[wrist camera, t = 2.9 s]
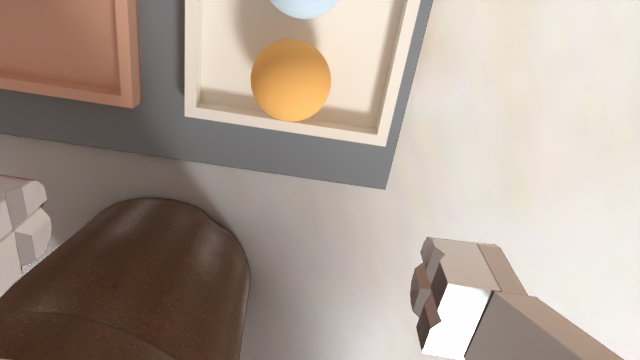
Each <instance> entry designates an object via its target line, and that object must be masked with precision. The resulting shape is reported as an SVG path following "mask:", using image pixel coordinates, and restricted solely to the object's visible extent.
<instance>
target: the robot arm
mask: <svg viewBox="0 0 640 360" xmlns="http://www.w3.org/2000/svg"><path fill="white" fill-rule="evenodd" d="M46 201H47V196H46V192H45V187H44V185H43V184H41V183H40V182H39V181H37V180H31V179H25V178H19V177H12V176H6V175H0V297H1V296H2V295H3V294H4V293H5V292H6V291H7V290H8V289H9V288H10V287H11V286H12V285H13V284H14V283H15V282H16V281H17V280H18V279H19V278H20V277H21V276H22V266H25V265H27V264H29V263H32V262H34V261H37V259H38V258H39V257H40V256H41V255H42V254H43V253H44V252H45V250H46V248H47V246H48V244H49V241H50V239H51V231H52V225H51V219H50V217H49V216H48V215H47V213H46V212H45V211H44V210H43V209H42V208H41V207H42V206H43V205H44V203H45V202H46ZM420 253H421V256H422V260H423V263H422V264H420V265H419V266H418V267H416V268H415V271H414V274H413V278H412V282H411V291H410V297H411V305H412V310H413V312H414V313H415V314H416V315H417V316H418V317H419V321H418V324H417V327H416V328H417V333H418V337H419V341H420V346H421V350H422V353H425V354H431V355H438V356H444V357H450V358H457V359H463V360H624V359H622V358H621V357H619V356H618V355H617V354H615V353H614V352H612V351H611V350H610V349H608V348H607V347H605V346H604V345H603V344H601V343H600V342H598V341H597V340H596V339H594V338H593V337H591V336H590V335H589V334H587V333H586V332H584V331H583V330H582V329H580V328H579V327H577V326H576V325H575V324H573V323H572V322H570V321H569V320H568V319H566V318H565V317H563V316H562V315H561V314H559V313H558V312H556V311H555V310H553V309H552V308H551V307H549V306H548V305H546V304H545V303H544V302H542V301H541V300H539V299H538V298H537V297H533V296H528V294H527V293H526V291H525V289H524V287H523V286H522V284H521V282H520V281H519V279H518V277H517V275H516V274H515V272H514V270H513V269H512V267H511V265H510V263H509V262H508V260H507V258H506V257H505V255H504V253H503V251H502V250H501V248H500V247H499V246H497V245H495V244H486V243H477V242H466V241H457V240H449V239H441V238H432V237H427V238H426V240H425V241H424V243H423V246H422V249H421V252H420ZM0 360H9V359H0Z"/></svg>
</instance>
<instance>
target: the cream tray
mask: <svg viewBox="0 0 640 360" xmlns="http://www.w3.org/2000/svg"><path fill="white" fill-rule="evenodd" d="M420 1H421V0H339V2H338V3H337V4H336V5H335V6H334V7H333V8H332V9H331V10H330V11H328V12H327V13H325V14H323V15H321V16H318V17H315V18H310V19H300V18H295V17H291V16H289V15H287V14H285V13H283V12H281V11H280V10H279V9H277V8H276V7H275V6H274V5H273V4H272V3H271V1H270V0H185V117H192V118H199V119H205V120H212V121H219V122H225V123H232V124H238V125H245V126H252V127H258V128H265V129H272V130H278V131H285V132H291V133H298V134H305V135H311V136H318V137H324V138H331V139H338V140H344V141H351V142H358V143H364V144H371V145H377V146H384V147H386V142H387V138H388V134H389V130H390V126H391V122H392V118H393V113H394V109H395V105H396V101H397V97H398V93H399V88H400V84H401V80H402V76H403V72H404V68H405V63H406V59H407V55H408V51H409V47H410V43H411V38H412V34H413V30H414V26H415V22H416V18H417V14H418V9H419V5H420ZM284 39H296V40H301V41H304V42H306V43H308V44H310V45H312V46H313V47H315V48H316V49H317V50H318V51H319V52H320V53H321V54H322V55H323V57H324V58H325V60H326V62H327V64H328V66H329V70H330V74H331V88H330V93H329V96H328V98H327V100H326V102H325V104H324V105H323V106H322V108H321V109H320V110H319V111H318V112H317V113H315V114H314V115H312V116H311V117H309V118H307V119H304V120H301V121H293V122H289V121H282V120H279V119H276V118H274V117H272V116H270V115H269V114H267V113H266V112H265V111H264V110H263V109H262V108H261V107H260V106H259V104H258V103H257V101H256V100H255V98H254V95H253V92H252V89H251V71H252V67H253V64H254V62H255V60H256V58H257V57H258V55H259V54H260V53H261V52H262V51H263V50H264V49H265V48H266V47H267V46H269V45H270V44H272V43H274V42H277V41H280V40H284Z"/></svg>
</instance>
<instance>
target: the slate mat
mask: <svg viewBox="0 0 640 360" xmlns="http://www.w3.org/2000/svg"><path fill="white" fill-rule="evenodd" d="M432 3H433V0H421V1H420V5H419V9H418V14H417V18H416V22H415V26H414V30H413V34H412V38H411V43H410V47H409V51H408V55H407V59H406V63H405V68H404V72H403V76H402V80H401V84H400V88H399V93H398V97H397V101H396V105H395V109H394V113H393V118H392V122H391V126H390V130H389V134H388V138H387V142H386V147H384V146H377V145H371V144H364V143H358V142H351V141H344V140H338V139H331V138H324V137H318V136H311V135H305V134H298V133H291V132H285V131H278V130H272V129H265V128H258V127H252V126H245V125H238V124H232V123H225V122H219V121H212V120H205V119H199V118H192V117H185V0H139V16H140V39H141V63H142V87H143V101H142V102H141V103H140V104H138V105H137V106H136V107H134V108H126V107H119V106H113V105H106V104H99V103H93V102H86V101H80V100H73V99H66V98H60V97H53V96H47V95H40V94H33V93H27V92H20V91H13V90H7V89H0V133H1V134H8V135H15V136H22V137H29V138H36V139H42V140H49V141H56V142H63V143H70V144H77V145H83V146H90V147H97V148H104V149H111V150H118V151H124V152H131V153H138V154H145V155H152V156H158V157H165V158H172V159H179V160H186V161H193V162H199V163H206V164H213V165H220V166H227V167H234V168H240V169H247V170H254V171H261V172H268V173H275V174H281V175H288V176H295V177H302V178H309V179H315V180H322V181H329V182H336V183H343V184H350V185H356V186H363V187H370V188H377V189H384V190H385V189H386V185H387V181H388V177H389V173H390V169H391V165H392V161H393V157H394V153H395V149H396V145H397V141H398V137H399V133H400V129H401V125H402V121H403V118H404V114H405V110H406V106H407V102H408V98H409V94H410V90H411V86H412V82H413V78H414V74H415V70H416V66H417V62H418V58H419V54H420V50H421V46H422V42H423V38H424V34H425V31H426V27H427V23H428V19H429V15H430V11H431V7H432Z"/></svg>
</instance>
